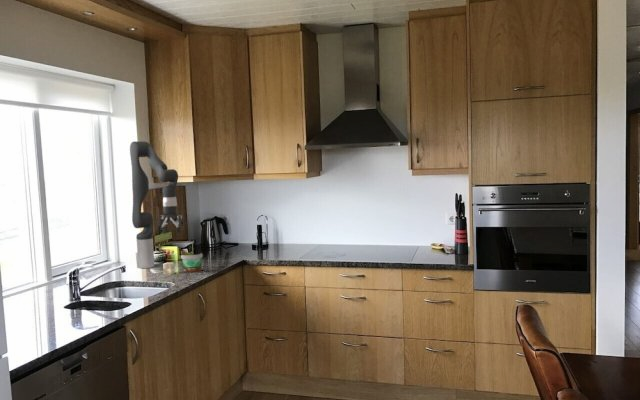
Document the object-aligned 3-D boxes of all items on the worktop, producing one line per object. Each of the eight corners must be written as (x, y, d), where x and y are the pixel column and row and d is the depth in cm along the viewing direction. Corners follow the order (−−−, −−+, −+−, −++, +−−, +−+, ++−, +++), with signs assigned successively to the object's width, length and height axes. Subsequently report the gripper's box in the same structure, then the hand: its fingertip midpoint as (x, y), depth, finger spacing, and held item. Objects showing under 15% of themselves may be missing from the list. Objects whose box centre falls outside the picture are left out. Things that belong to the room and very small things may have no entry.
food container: (181, 274, 293) (180, 256, 292) (181, 271, 299) (180, 254, 298) (204, 272, 296) (203, 254, 296) (203, 269, 302) (202, 252, 301)
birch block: (163, 274, 294) (162, 264, 293) (167, 272, 298) (167, 262, 298) (170, 274, 293) (170, 264, 292) (174, 272, 297) (174, 262, 297)
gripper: (154, 205, 292) (156, 234, 294) (177, 205, 288) (179, 235, 290) (162, 204, 299) (164, 232, 301) (184, 204, 295) (186, 233, 297)
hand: (171, 233), depth 295 cm, fingers open, 8 cm apart
